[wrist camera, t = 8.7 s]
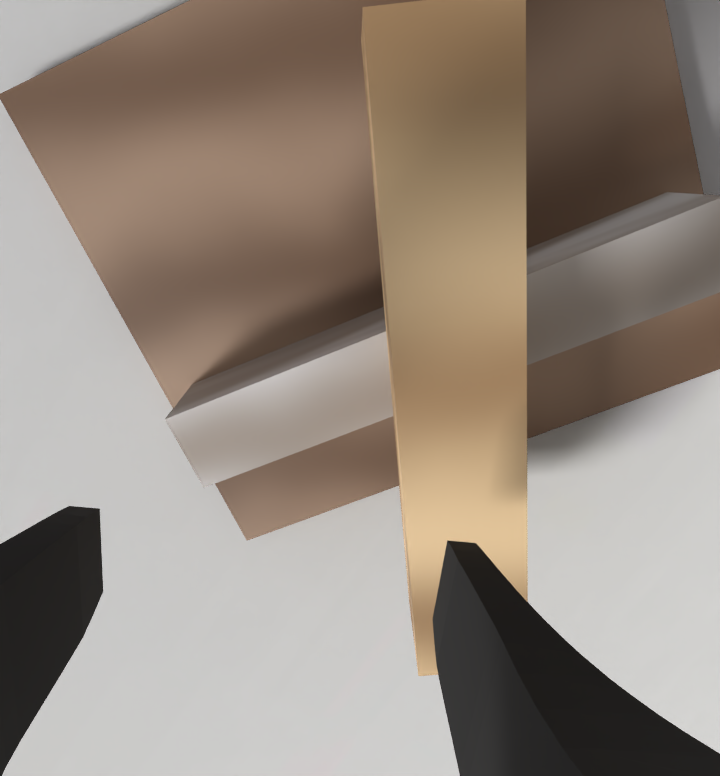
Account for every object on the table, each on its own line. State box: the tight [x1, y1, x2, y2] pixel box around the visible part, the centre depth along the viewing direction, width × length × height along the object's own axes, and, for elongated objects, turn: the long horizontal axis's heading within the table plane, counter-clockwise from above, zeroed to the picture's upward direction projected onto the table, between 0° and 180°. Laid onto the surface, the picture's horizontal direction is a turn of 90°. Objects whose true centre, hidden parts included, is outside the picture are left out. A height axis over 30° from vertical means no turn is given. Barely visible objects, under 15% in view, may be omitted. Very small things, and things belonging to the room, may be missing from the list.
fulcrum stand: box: [0, 0, 720, 540], centre depth 17 cm, size 16×18×4 cm
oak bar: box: [361, 0, 527, 676], centre depth 15 cm, size 16×3×3 cm, turn 6°
